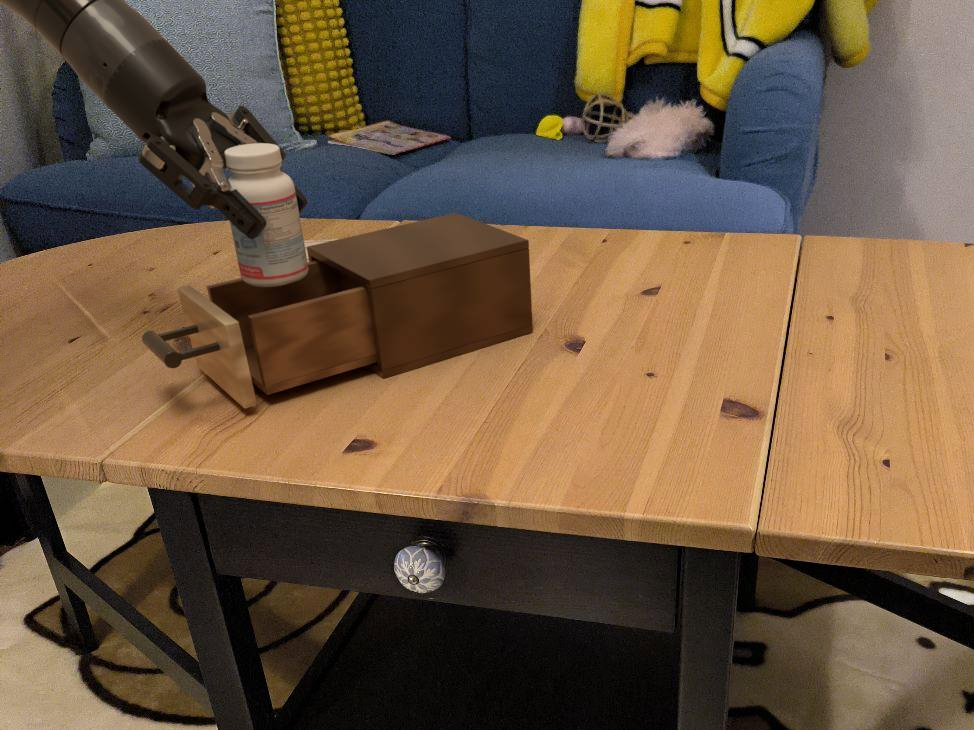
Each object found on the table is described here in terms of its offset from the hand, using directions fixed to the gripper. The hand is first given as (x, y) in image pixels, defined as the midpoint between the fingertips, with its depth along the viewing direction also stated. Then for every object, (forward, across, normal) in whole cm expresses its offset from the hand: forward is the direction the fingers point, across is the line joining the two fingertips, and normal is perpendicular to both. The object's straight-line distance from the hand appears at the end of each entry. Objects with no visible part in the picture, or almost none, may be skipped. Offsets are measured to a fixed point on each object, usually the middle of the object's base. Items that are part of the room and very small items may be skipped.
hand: (281, 220), depth 85 cm
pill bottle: (+3, 0, +5) cm, 6 cm away
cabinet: (+15, +12, +6) cm, 20 cm away
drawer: (+8, -1, +12) cm, 14 cm away
